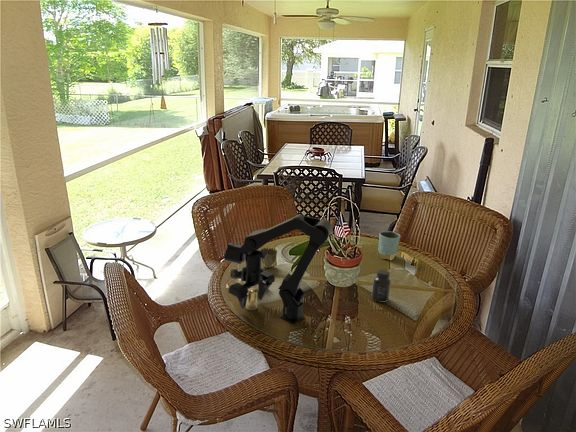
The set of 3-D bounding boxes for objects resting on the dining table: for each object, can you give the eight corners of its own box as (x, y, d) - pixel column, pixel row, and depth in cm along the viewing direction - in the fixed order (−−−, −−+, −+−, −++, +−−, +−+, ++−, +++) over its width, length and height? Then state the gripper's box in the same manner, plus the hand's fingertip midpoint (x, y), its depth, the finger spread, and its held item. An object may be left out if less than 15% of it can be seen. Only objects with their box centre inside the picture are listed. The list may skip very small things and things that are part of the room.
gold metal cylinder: (258, 307, 156) (259, 291, 154) (251, 311, 153) (252, 294, 151) (251, 303, 159) (252, 287, 157) (243, 307, 156) (244, 290, 154)
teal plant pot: (376, 259, 206) (379, 236, 202) (375, 251, 215) (379, 229, 211) (397, 262, 205) (401, 239, 201) (395, 253, 214) (399, 232, 210)
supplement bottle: (391, 299, 169) (395, 272, 165) (382, 305, 164) (386, 277, 161) (376, 292, 174) (380, 266, 170) (367, 298, 169) (371, 271, 165)
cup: (274, 271, 185) (275, 255, 183) (258, 269, 187) (258, 252, 184) (277, 264, 192) (278, 248, 190) (262, 262, 194) (263, 246, 191)
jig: (267, 287, 171) (268, 277, 170) (252, 295, 164) (252, 284, 163) (250, 279, 177) (250, 269, 175) (234, 286, 170) (234, 275, 169)
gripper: (255, 252, 162) (253, 287, 167) (218, 266, 148) (217, 304, 153) (276, 261, 156) (274, 298, 161) (240, 277, 142) (239, 316, 147)
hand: (251, 303), depth 156 cm, fingers open, 9 cm apart
